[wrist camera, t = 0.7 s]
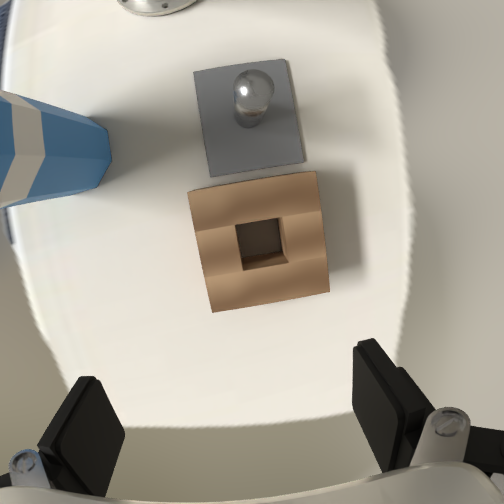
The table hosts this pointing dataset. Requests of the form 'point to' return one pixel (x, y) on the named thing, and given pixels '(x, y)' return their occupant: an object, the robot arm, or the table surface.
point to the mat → (247, 139)
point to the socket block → (266, 265)
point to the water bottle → (47, 151)
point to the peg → (251, 97)
